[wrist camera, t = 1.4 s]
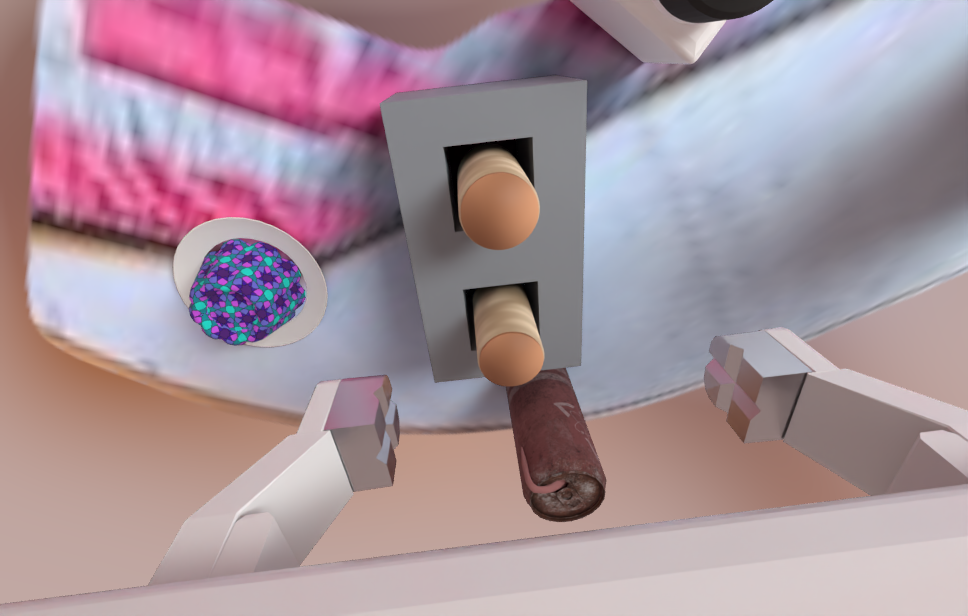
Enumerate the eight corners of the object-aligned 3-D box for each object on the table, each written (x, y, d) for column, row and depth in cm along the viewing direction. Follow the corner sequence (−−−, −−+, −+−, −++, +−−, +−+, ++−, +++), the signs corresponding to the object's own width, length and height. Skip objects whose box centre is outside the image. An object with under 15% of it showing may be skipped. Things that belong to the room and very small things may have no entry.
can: (512, 343, 41) (538, 464, 29) (574, 356, 42) (624, 477, 30) (494, 392, 44) (510, 520, 32) (553, 402, 45) (590, 530, 33)
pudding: (153, 216, 33) (106, 242, 29) (313, 211, 34) (291, 235, 29) (206, 345, 39) (174, 383, 35) (341, 339, 40) (327, 375, 35)
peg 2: (525, 272, 31) (544, 329, 25) (527, 319, 33) (546, 383, 27) (469, 278, 31) (474, 337, 24) (475, 325, 33) (481, 391, 27)
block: (555, 74, 30) (587, 80, 23) (558, 311, 39) (581, 365, 32) (396, 92, 30) (379, 103, 23) (437, 325, 39) (434, 382, 32)
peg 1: (518, 139, 26) (539, 166, 20) (521, 204, 28) (542, 247, 22) (453, 147, 26) (453, 176, 20) (461, 210, 28) (463, 256, 22)
